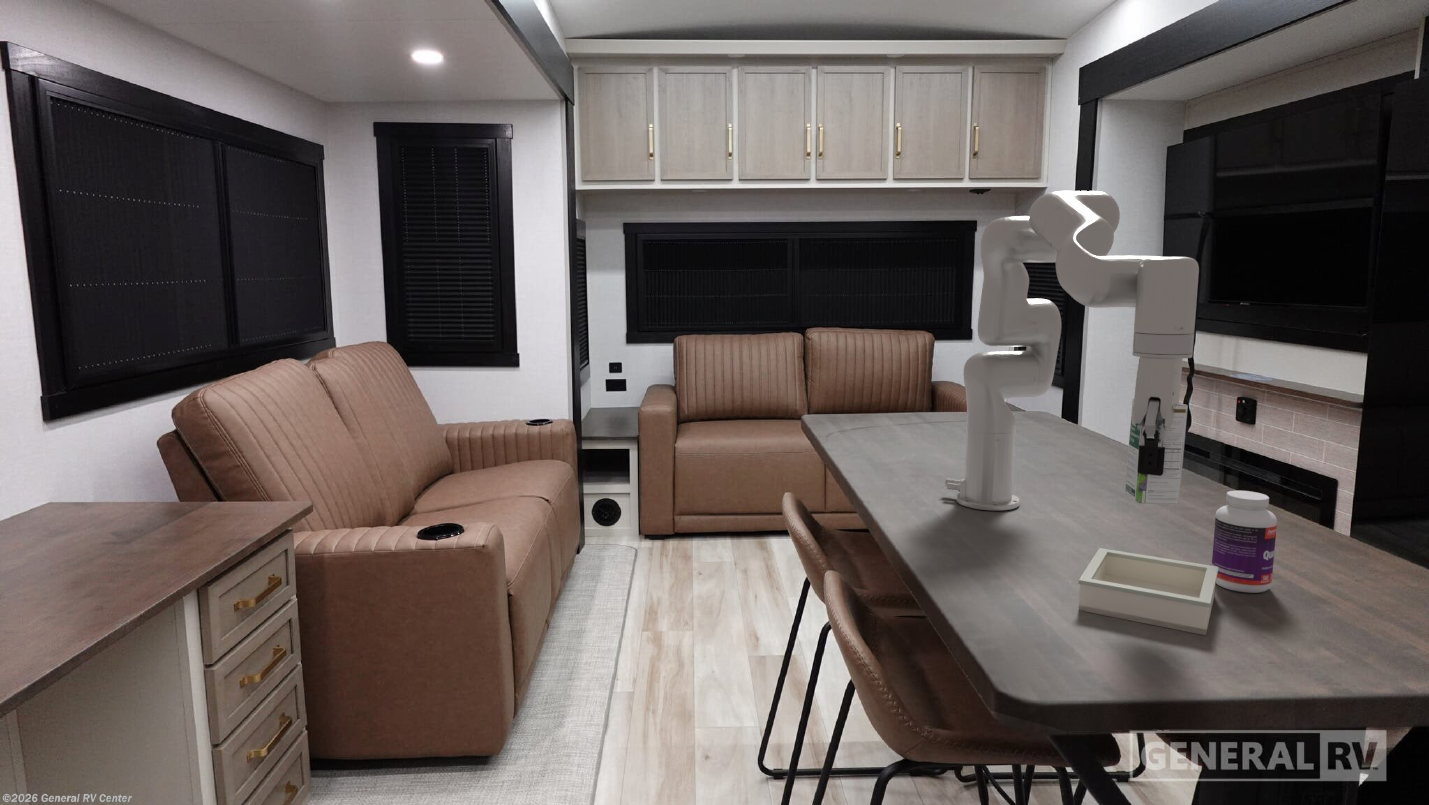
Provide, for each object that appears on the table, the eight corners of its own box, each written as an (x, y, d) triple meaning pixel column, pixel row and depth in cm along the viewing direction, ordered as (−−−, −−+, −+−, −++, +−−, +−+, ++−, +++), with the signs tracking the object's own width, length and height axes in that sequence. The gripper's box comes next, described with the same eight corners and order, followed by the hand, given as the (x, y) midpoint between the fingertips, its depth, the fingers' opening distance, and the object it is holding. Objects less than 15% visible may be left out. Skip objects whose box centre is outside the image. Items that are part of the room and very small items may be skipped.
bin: (1076, 610, 124) (1078, 580, 123) (1097, 575, 137) (1099, 547, 137) (1207, 636, 115) (1210, 603, 114) (1216, 596, 128) (1218, 566, 128)
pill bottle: (1271, 599, 127) (1280, 505, 125) (1208, 589, 131) (1216, 497, 129) (1270, 582, 134) (1279, 492, 131) (1211, 572, 138) (1218, 485, 136)
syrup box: (1123, 493, 127) (1129, 397, 125) (1165, 494, 127) (1172, 397, 124) (1137, 504, 122) (1144, 403, 119) (1181, 505, 121) (1189, 403, 119)
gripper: (1141, 340, 130) (1134, 454, 133) (1123, 350, 116) (1115, 477, 118) (1198, 342, 126) (1189, 459, 129) (1186, 352, 111) (1176, 484, 114)
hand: (1154, 467), depth 123 cm, fingers closed on syrup box, 7 cm apart
